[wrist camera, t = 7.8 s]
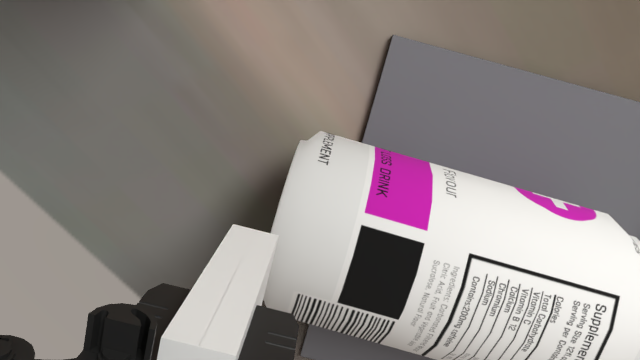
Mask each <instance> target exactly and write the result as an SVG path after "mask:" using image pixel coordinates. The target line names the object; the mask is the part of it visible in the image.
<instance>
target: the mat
mask: <svg viewBox="0 0 640 360" xmlns="http://www.w3.org/2000/svg"><path fill="white" fill-rule="evenodd" d="M362 143H364V144H368V145H371V146H374V147H378V148H381V149H385V150H388V151H392V152H395V153H399V154H402V155H406V156H409V157H412V158H416V159H419V160H423V161H426V162H430V163H433V164H437V165H440V166H444V167H447V168H451V169H454V170H457V171H461V172H464V173H468V174H471V175H475V176H478V177H482V178H485V179H489V180H492V181H496V182H499V183H502V184H506V185H509V186H513V187H516V188H520V189H523V190H527V191H530V192H534V193H537V194H540V195H544V196H547V197H551V198H554V199H558V200H561V201H565V202H568V203H572V204H575V205H579V206H582V207H585V208H589V209H592V210H596V211H599V212H603V213H606V214H609V215H610V216H611V217H612V218H613V219H614V220H615V221H616V222H617V223H618V224H619V225H620V226H621V228H622V229H623V230H624V231H625V232H626V233H627V234H628V235H630V236H634V237H636V238H637V239H638V240H639V241H640V102H637V101H633V100H629V99H626V98H622V97H619V96H615V95H611V94H608V93H604V92H600V91H597V90H593V89H589V88H586V87H582V86H578V85H575V84H571V83H567V82H564V81H560V80H556V79H553V78H549V77H545V76H542V75H538V74H534V73H531V72H527V71H524V70H520V69H516V68H513V67H509V66H505V65H502V64H498V63H494V62H491V61H487V60H483V59H480V58H476V57H472V56H469V55H465V54H461V53H458V52H454V51H450V50H447V49H443V48H440V47H436V46H432V45H429V44H425V43H421V42H418V41H414V40H410V39H407V38H403V37H399V36H396V35H393V36H392V39H391V42H390V46H389V49H388V53H387V56H386V60H385V63H384V67H383V70H382V74H381V77H380V81H379V84H378V87H377V91H376V94H375V98H374V101H373V105H372V108H371V112H370V115H369V119H368V122H367V126H366V129H365V132H364V136H363V139H362ZM301 356H302V357H306V358H310V359H314V360H436V359H432V358H429V357H425V356H421V355H418V354H414V353H411V352H407V351H404V350H400V349H397V348H393V347H389V346H386V345H382V344H379V343H375V342H372V341H368V340H364V339H361V338H357V337H354V336H350V335H347V334H343V333H340V332H336V331H332V330H329V329H325V328H322V327H318V326H315V325H311V324H309V326H308V330H307V333H306V337H305V340H304V344H303V347H302V351H301Z"/></svg>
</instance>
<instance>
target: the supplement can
mask: <svg viewBox="0 0 640 360" xmlns="http://www.w3.org/2000/svg"><path fill="white" fill-rule="evenodd" d="M270 233H271V234H275V235H279V236H278V240H277V244H276V248H275V252H274V257H273V261H272V265H271V269H270V273H269V277H268V281H267V285H266V289H265V294H264V298H263V300H264V302H265V305H266V307H267V308H271V309H275V310H279V311H283V312H287V313H291V314H293V315H294V317H295V319H296V320H297V321H300V322H304V323H308V324H311V325H315V326H318V327H322V328H325V329H329V330H332V331H336V332H340V333H343V334H347V335H350V336H354V337H357V338H361V339H364V340H368V341H372V342H375V343H379V344H382V345H386V346H389V347H393V348H397V349H400V350H404V351H407V352H411V353H414V354H418V355H421V356H425V357H429V358H432V359H436V360H640V241H639V240H638V239H637V238H636V237H634V236H630V235H628V234H627V233H626V232H625V231H624V230H623V229H622V228H621V226H620V225H619V224H618V223H617V222H616V221H615V220H614V219H613V218H612V217H611V216H610V215H609V214H606V213H603V212H599V211H596V210H592V209H589V208H585V207H582V206H579V205H575V204H572V203H568V202H565V201H561V200H558V199H554V198H551V197H547V196H544V195H540V194H537V193H534V192H530V191H527V190H523V189H520V188H516V187H513V186H509V185H506V184H502V183H499V182H496V181H492V180H489V179H485V178H482V177H478V176H475V175H471V174H468V173H464V172H461V171H457V170H454V169H451V168H447V167H444V166H440V165H437V164H433V163H430V162H426V161H423V160H419V159H416V158H412V157H409V156H406V155H402V154H399V153H395V152H392V151H388V150H385V149H381V148H378V147H374V146H371V145H368V144H364V143H361V142H357V141H354V140H350V139H347V138H343V137H340V136H336V135H333V134H329V133H326V132H323V131H320V132H318V133H317V134H316V135H314V136H313V137H312V138H310V139H309V140H307V141H305V140H300V142H299V144H298V146H297V149H296V151H295V154H294V157H293V160H292V163H291V166H290V169H289V172H288V175H287V178H286V182H285V185H284V188H283V191H282V195H281V198H280V201H279V205H278V208H277V211H276V215H275V218H274V222H273V225H272V229H271V232H270Z"/></svg>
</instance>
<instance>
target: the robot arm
mask: <svg viewBox="0 0 640 360" xmlns="http://www.w3.org/2000/svg"><path fill="white" fill-rule="evenodd" d="M278 236H279V235H275V234H271V233H267V232H263V231H259V230H255V229H251V228H247V227H243V226H239V225H235V224H233V225H232V227H231V228H230V230H229V231H228V233H227V234H226V236H225V238H224V239H223V241H222V242H221V244H220V245H219V247H218V249H217V250H216V252H215V253H214V255H213V256H212V258H211V260H210V261H209V263H208V264H207V266H206V267H205V269H204V271H203V272H202V274H201V275H200V277H199V279H198V280H197V282H196V283H195V285H194V286H193V288H192V290H189V289H185V288H180V287H176V286H172V285H168V284H164V283H163V284H161V285H158V286H156V287H154V288H152V289H150V290H148V291H147V292H146V294H145V295H144V296H143V297H142V299H141V300H140V301H139V303H137V305H131V304H123V303H121V304H109V305H105V306H102V307H99V308H96V309H95V310H93V311H92V312H91V313H89V314H88V321H87V328H86V335H85V342H84V349H83V351H82V352H81V353H80V355H79V356H78V357H77V358H74V359H66V360H294V353H295V347H296V340H297V335H298V329H299V325H298V323H297V321H296V319H295V317H294V315H293V314H291V313H287V312H283V311H279V310H275V309H271V308H267V307H263V306H262V302H263V298H264V294H265V289H266V285H267V281H268V277H269V273H270V269H271V265H272V261H273V257H274V252H275V248H276V244H277V240H278ZM34 356H35V352H34V349H33V346H32V345H31V344H30V343H29V342H27V341H25V340H24V339H22V338H18V337H15V336H11V335H0V360H40V359H34Z"/></svg>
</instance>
